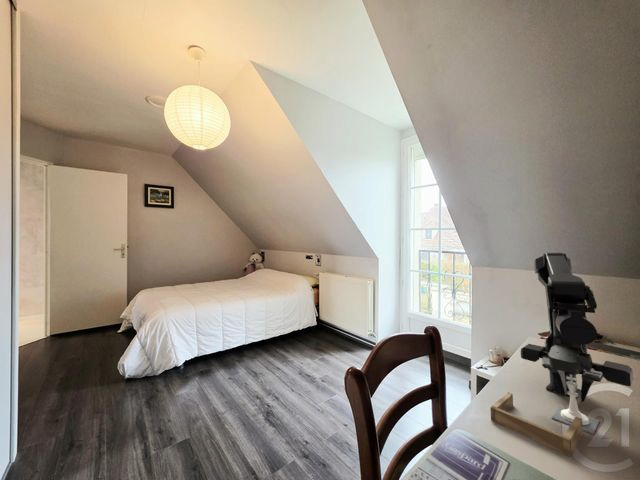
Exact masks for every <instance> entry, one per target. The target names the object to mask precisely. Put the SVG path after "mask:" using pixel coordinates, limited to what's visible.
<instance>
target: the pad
mask: <svg viewBox="0 0 640 480" xmlns="http://www.w3.org/2000/svg"><path fill="white" fill-rule="evenodd" d="M564 409H565V408H564V407H561V406H559V407H558V408H557V409H556V411H555V412H554V413H553V415H552V416H551V419H553V420H555V421H557V422H560V423H563V424H565V425H567V426H570V425H571V423H572V422H570V421H568V420H566V419H564V418H563V417H562V416H561V410H564ZM585 416H586V417H587V418H588V419H589V424H588V425H582V428H583V432H586V433H589V434H591V435H594V434H595V432H596V430H597V428H598V426H599V423H600V420H599V419H596V418H593V417H589V416H587V415H585Z"/></svg>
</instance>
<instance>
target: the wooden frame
mask: <svg viewBox="0 0 640 480" xmlns="http://www.w3.org/2000/svg"><path fill="white" fill-rule="evenodd" d="M512 407H514V396H513V393H511V392H507V393H506V394H504V395H503V396H502V397H501V398H499V399H498V400H497V401H496V402H495V403H494V404H492V405H491V406H490V420H491V421H492V422H494V423H496V424H499V425H501V426H504V427H506V428H508V429H509V430H512V431H514V432H516V433H518V434H520V435H523V436H525V437H527V438H529V439H532V440H534V441H537V442H539V443H540V444H543V445H545V446H546V447H550V448H551V449H554V450H555V451H558V452H560V453H563V454H564V455H567V456H570V457H571V456H572V455H573V453H574V450H575V448H576V447H577V445H578V443H579V441H580V440H581V438H582V435H583V433H584V431H583V428H582V419H581V418H578V417H575V419H574V420H573V422H572V423H571V425H569V427H568V428H567V431H566V432H565V433H564V434H562V433H559V432H557V431H554V430H552V429H549V428H547V427H544V426H542V425H540V424H537V423H536V422H533V421H530V420H527V419H526V418H523V417H521V416H518V415H515V414H514V413H511V412H509V410H510V409H512Z"/></svg>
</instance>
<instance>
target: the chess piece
mask: <svg viewBox="0 0 640 480" xmlns="http://www.w3.org/2000/svg"><path fill="white" fill-rule="evenodd" d="M566 379H569V380H570V381H568V382H566V384H567V386H568V389H569V391H567V392H566V393H567V394H568V395H570V397H569V404H568V405H569V406H568V408H564V410H561V416H562V417H563V418H564V419H566V420H568V421H570V422H573V420H574V419H575V417H578V418H581V419H582V425H588V424H589V419H588V418H587V417H588V416H587V415H585V414H583V413H581V411H580V410H579V407H578V401H577V399H576V397H579V396H580V395H578V394H577V393H576V392H575V391H576V388H577V389H578V383H577V384H576V383H574V382H573V380H574V381H576V380H577V377H576V378H572V375H570V377H567V376H566ZM586 416H587V417H586Z"/></svg>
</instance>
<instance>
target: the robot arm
mask: <svg viewBox="0 0 640 480" xmlns="http://www.w3.org/2000/svg"><path fill="white" fill-rule="evenodd" d="M572 270H573V269H572V263H571V258H569V257H567V253H563V252H546V253H543V254H542V256H540V257H537V258H535V260H534V273H535V274H537V279H538V281H539V282H540V283H541V284H542V285H543V287H545V288H544V289H545V297H546V307H547V316H548V324H549V325H548V326H549V335H548V336H547V338H546V339H545V341H544V346H543V345H541V346H540V345H536V344H534V343H533V344H531V343H528V344H526V345H525V346H522V348H521V349H520V358H521V359H522V360H526V361H528V362H529V361H530V362H534V363H535V362H537V361H539V360H540V359H541V360H542V364H541V366H542V367H543V368H544V369H547V370H548V371H549V383H548V384H547V385H546V386H545V389H546V390H547V391H549V392H552V393H553V392H554V393H556V394H559V395H562V397H569V398H570V395H568V394H567V393H566V392H567V391H569V389H568V386H567V384H566V382H568V381H570V380H569V379H566V376H567V377H570V375H572V378H576V381H574V380H573V382H574V383H576V384H577V385H578V383H577V375H581V388H578V387H577V388H576V391H575V392H576V393H577V394H578V395H579V396H580V401H581V402H582V403H585V401H586V399H587V396H588V394H589V393H590V389H591V387H592V385H593V384H594V382H598V383H599V382H601V383H602V381H603V379H605V380H606V381H607V382H610V383H614V384H617V385H621V386H625V387H632V384H633V380H634V371H633V368H631V366H629V365H628V364H624V363H619V362H614V361H610V360H605V361H604V362H603V364H602V363H597V362H593V359H592V356H591V355H592V354H590V353H588V345H590V344H591V343H594V341H595V340H596V339H597V337H598V330H597V329H596V326H595V325H594V324H593V323H592V322H591V321H590V320H589V319H588V318H587V316H586V315H587V313H589V314H596V309H597V307H598V305H597V301H596V297H595V295H594V291H593V290H591V287H590V286H589V285H586V282H585V281H584V280H583V279H582V277H580V276H578V275H574V274H573V272H572ZM579 396H578V397H579ZM578 397H576V400H577V399H578Z"/></svg>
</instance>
